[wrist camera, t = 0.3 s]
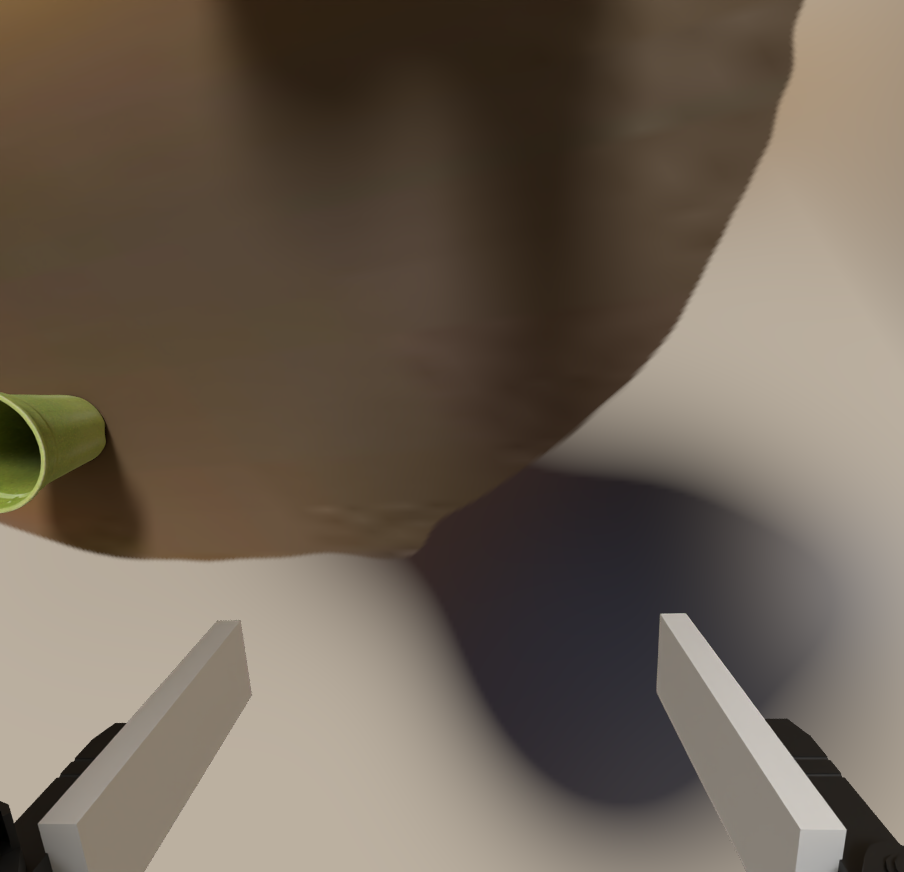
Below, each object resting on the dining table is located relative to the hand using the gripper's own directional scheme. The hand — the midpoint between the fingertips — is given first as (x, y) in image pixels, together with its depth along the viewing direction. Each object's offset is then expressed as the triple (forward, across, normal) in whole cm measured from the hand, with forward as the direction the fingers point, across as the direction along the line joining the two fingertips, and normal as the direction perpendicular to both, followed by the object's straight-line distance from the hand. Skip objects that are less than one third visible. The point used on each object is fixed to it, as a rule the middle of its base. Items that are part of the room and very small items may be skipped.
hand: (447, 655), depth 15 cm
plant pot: (+28, -34, +3) cm, 44 cm away
